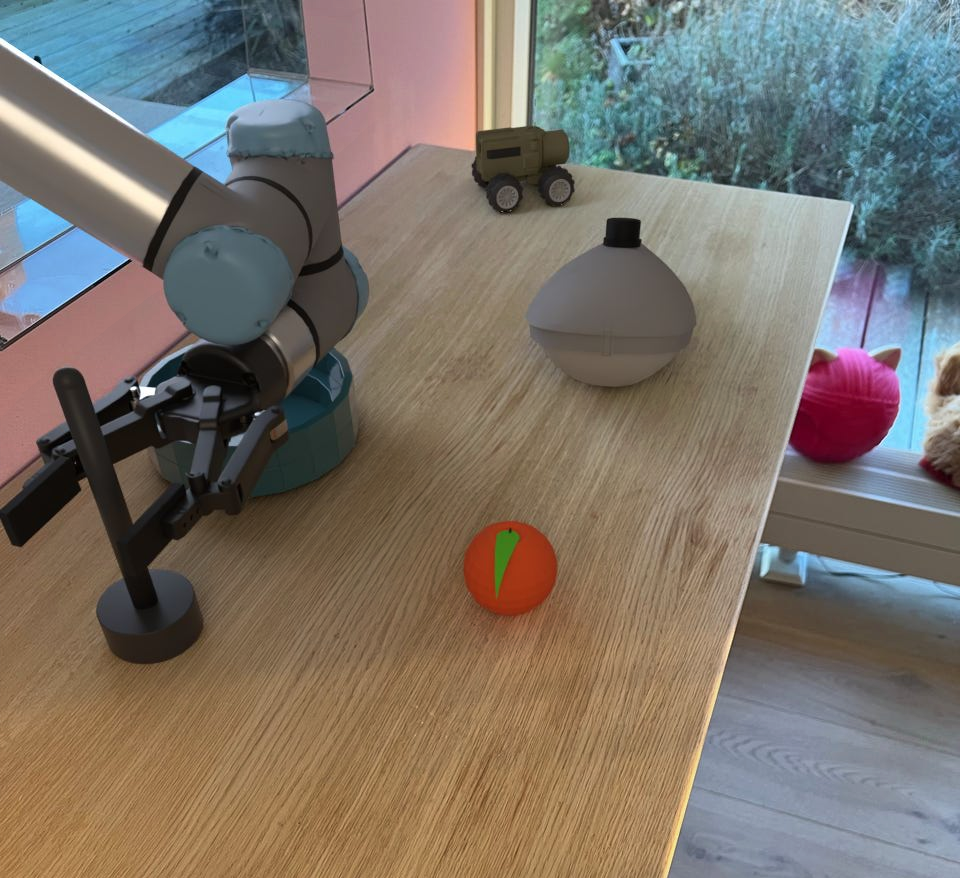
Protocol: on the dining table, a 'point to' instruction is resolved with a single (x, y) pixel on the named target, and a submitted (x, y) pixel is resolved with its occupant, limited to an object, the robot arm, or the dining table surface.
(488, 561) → the clementine
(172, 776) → the dining table surface
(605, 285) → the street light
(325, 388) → the bowl
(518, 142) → the toy vehicle
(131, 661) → the black peg stand
